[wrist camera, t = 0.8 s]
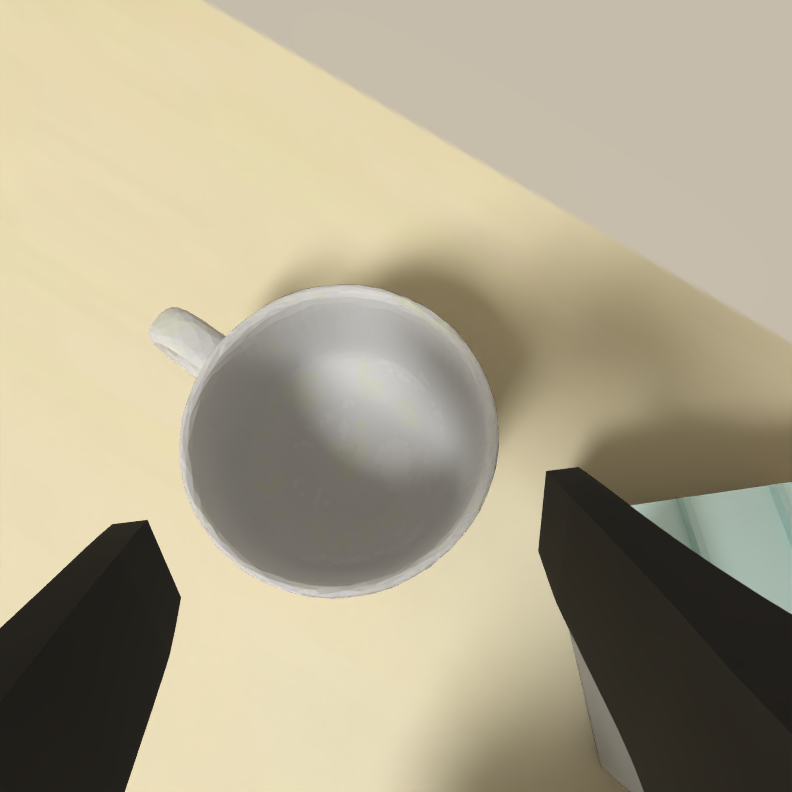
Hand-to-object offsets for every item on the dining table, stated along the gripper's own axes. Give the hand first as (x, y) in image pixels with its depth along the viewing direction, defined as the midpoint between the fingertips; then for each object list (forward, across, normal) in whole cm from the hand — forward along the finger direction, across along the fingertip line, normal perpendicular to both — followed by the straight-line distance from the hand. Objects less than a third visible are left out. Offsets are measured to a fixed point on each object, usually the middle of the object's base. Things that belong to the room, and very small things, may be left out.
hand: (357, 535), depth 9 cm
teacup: (+14, +2, +7) cm, 15 cm away
